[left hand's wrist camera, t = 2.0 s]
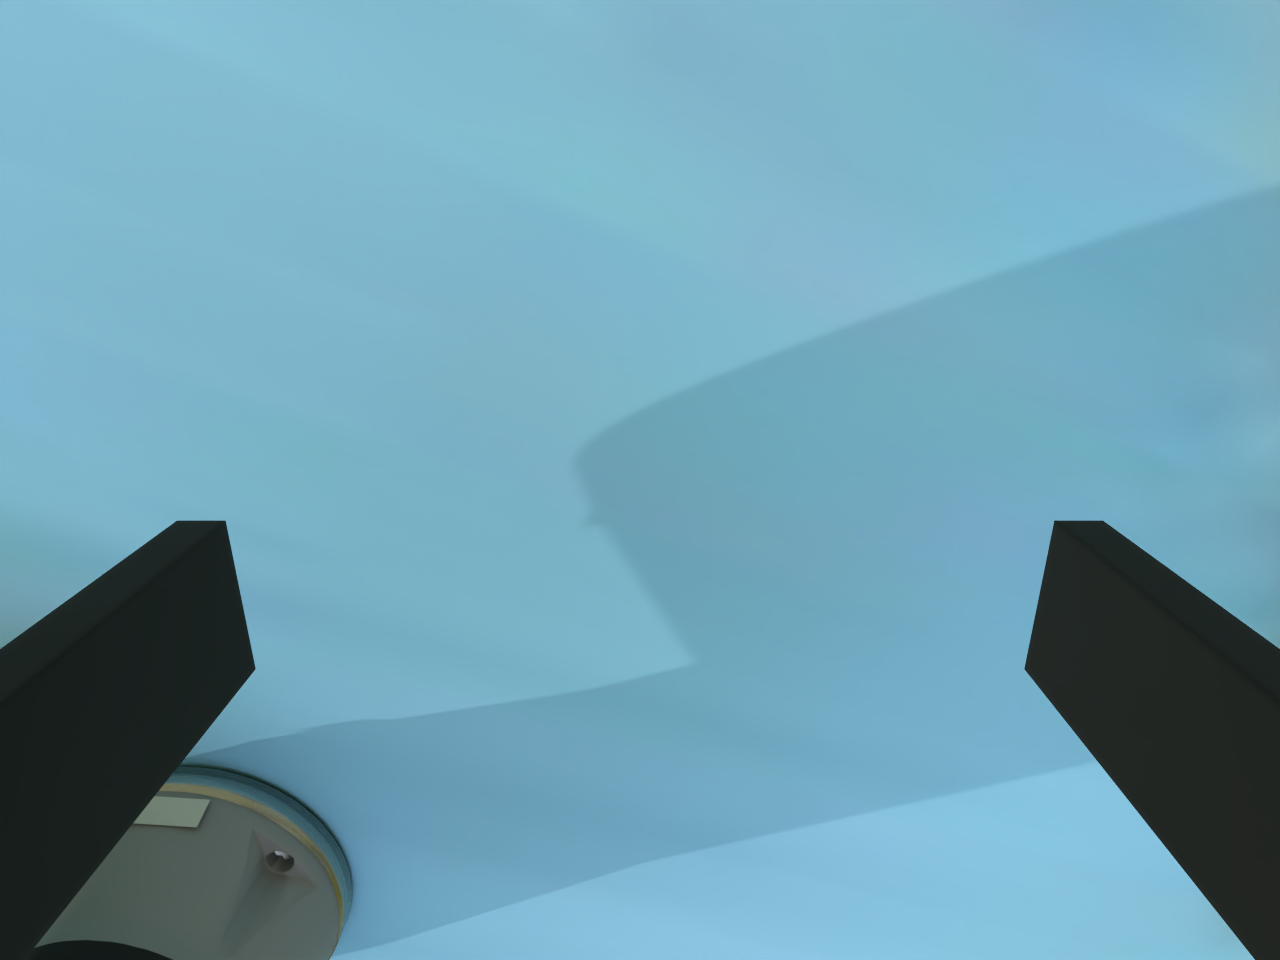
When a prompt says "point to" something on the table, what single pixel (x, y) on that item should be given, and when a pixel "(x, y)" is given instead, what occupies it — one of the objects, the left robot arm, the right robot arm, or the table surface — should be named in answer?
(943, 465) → the table surface
